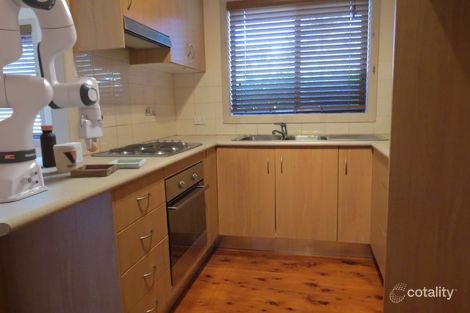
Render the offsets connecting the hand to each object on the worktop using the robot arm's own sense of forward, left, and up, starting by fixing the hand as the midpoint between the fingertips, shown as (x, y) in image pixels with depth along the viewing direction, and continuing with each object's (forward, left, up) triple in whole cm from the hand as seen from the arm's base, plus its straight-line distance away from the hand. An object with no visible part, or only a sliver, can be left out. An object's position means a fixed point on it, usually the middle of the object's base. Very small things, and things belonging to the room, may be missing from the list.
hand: (92, 148), depth 142 cm
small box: (+30, +21, -11) cm, 38 cm away
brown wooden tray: (+1, -1, -11) cm, 11 cm away
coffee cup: (+7, +14, -11) cm, 19 cm away
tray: (+18, -10, -11) cm, 23 cm away
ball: (0, 0, +1) cm, 1 cm away
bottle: (+21, +28, -11) cm, 37 cm away
